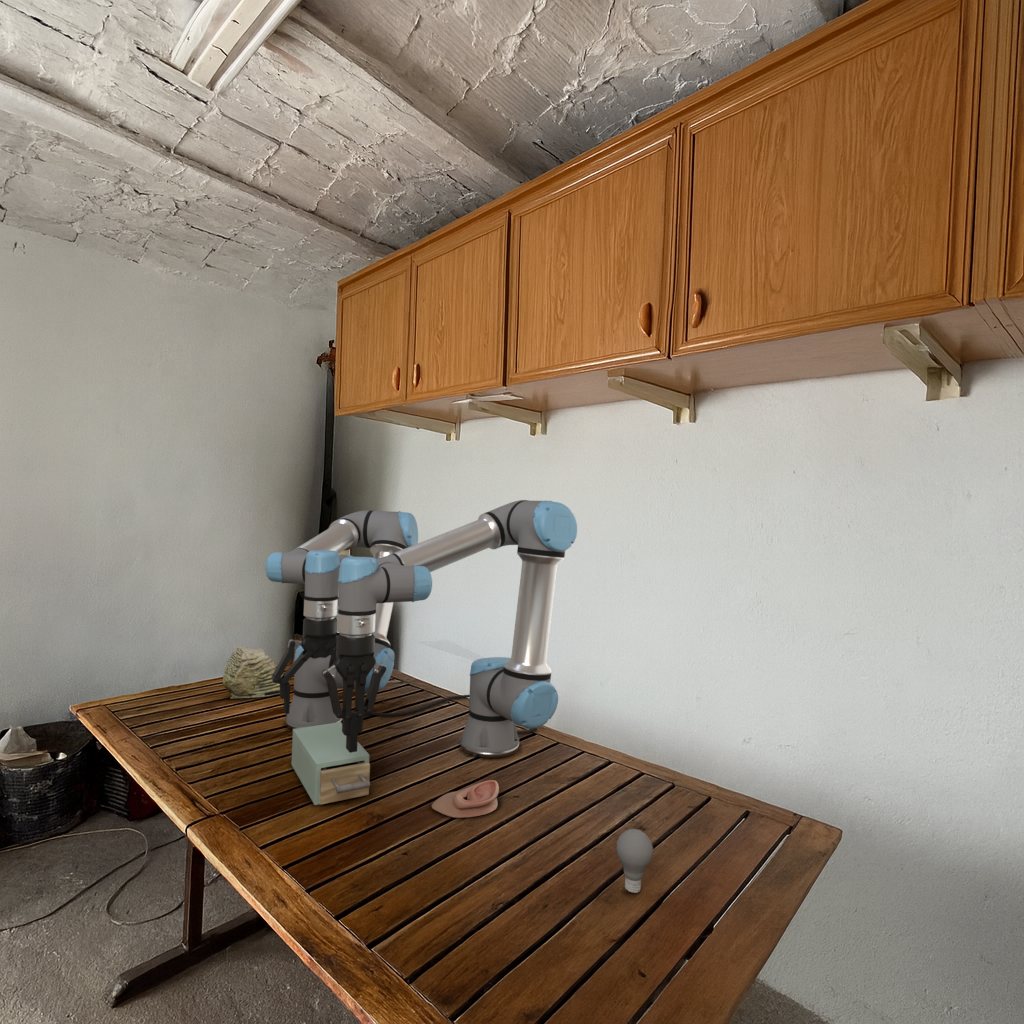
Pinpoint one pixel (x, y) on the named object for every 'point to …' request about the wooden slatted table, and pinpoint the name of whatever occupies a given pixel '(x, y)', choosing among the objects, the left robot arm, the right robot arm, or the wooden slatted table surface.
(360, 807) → the wooden slatted table surface
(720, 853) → the wooden slatted table surface
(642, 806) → the wooden slatted table surface
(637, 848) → the light bulb
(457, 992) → the wooden slatted table surface
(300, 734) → the cabinet
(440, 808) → the anatomical model
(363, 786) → the drawer
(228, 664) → the fossil
